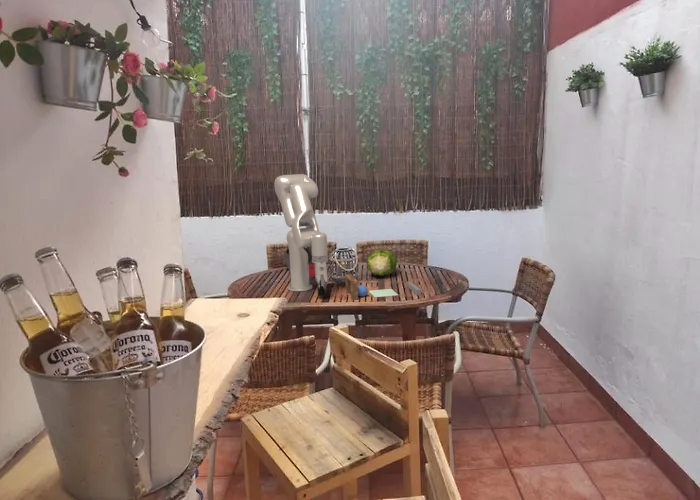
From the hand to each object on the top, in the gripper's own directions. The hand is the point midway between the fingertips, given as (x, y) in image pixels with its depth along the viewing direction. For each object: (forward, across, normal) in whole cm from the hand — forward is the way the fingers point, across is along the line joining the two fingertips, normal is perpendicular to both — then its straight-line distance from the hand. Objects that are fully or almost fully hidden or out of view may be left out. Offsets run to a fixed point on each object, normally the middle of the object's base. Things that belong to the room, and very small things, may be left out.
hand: (321, 295), depth 257 cm
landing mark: (+2, 0, -31) cm, 31 cm away
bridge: (+2, 0, -15) cm, 15 cm away
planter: (+2, +67, +3) cm, 67 cm away
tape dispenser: (+2, +50, -3) cm, 50 cm away
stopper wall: (+2, 0, -47) cm, 47 cm away
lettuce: (+2, +33, -39) cm, 51 cm away
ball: (-1, -2, -20) cm, 20 cm away
